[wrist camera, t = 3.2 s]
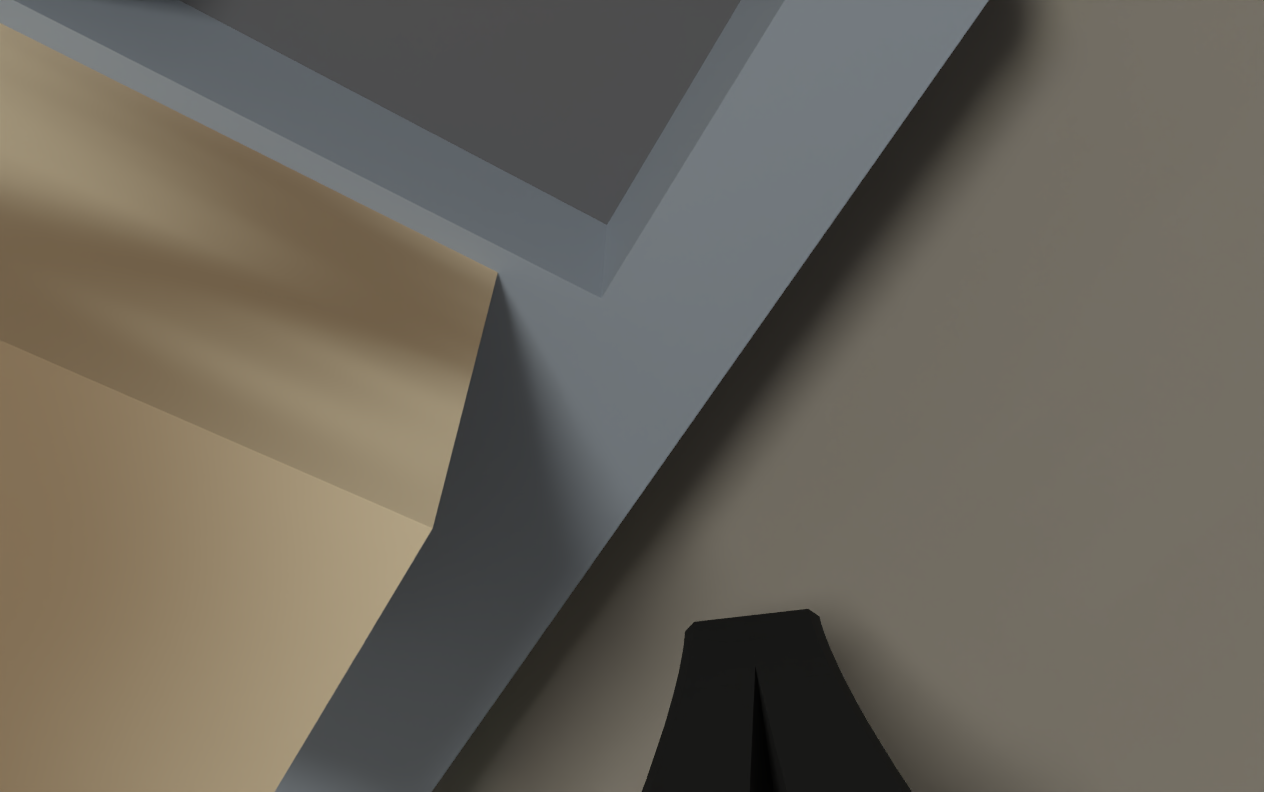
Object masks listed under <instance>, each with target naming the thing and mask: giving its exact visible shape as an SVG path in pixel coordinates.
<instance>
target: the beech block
mask: <svg viewBox="0 0 1264 792" xmlns="http://www.w3.org/2000/svg"><path fill="white" fill-rule="evenodd" d="M497 273H498V272H496V271H494V270H492V269H490V268H488V267H486V266H484V265H482V264H480V263H478V262H476V261H474V260H472V259H470V258H468V257H466V256H464V255H462V254H460V253H458V252H456V251H454V250H452V249H450V248H448V247H446V246H444V245H442V244H440V243H438V242H436V241H434V240H432V239H430V238H428V237H426V236H424V235H422V234H420V233H418V232H416V231H414V230H412V229H410V228H408V227H406V226H404V225H402V224H400V223H398V222H396V221H394V220H392V219H390V218H388V217H386V216H384V215H382V214H380V213H378V212H376V211H374V210H372V209H370V208H368V207H366V206H364V205H362V204H360V203H358V202H356V201H354V200H352V199H350V198H348V197H346V196H344V195H342V194H340V193H338V192H336V191H334V190H332V189H330V188H328V187H326V186H324V185H322V184H320V183H319V182H317V181H315V180H313V179H311V178H309V177H307V176H305V175H303V174H301V173H299V172H297V171H295V170H293V169H291V168H289V167H287V166H285V165H283V164H281V163H279V162H277V161H275V160H273V159H271V158H269V157H267V156H265V155H263V154H261V153H259V152H257V151H255V150H253V149H251V148H249V147H247V146H245V145H243V144H241V143H239V142H237V141H235V140H233V139H231V138H229V137H227V136H225V135H223V134H221V133H219V132H217V131H215V130H213V129H211V128H209V127H207V126H205V125H203V124H201V123H199V122H197V121H195V120H193V119H191V118H189V117H187V116H185V115H183V114H181V113H179V112H177V111H175V110H173V109H171V108H169V107H167V106H165V105H163V104H161V103H159V102H157V101H155V100H153V99H151V98H149V97H147V96H145V95H143V94H141V93H139V92H137V91H135V90H133V89H131V88H129V87H127V86H125V85H123V84H121V83H119V82H117V81H115V80H113V79H111V78H109V77H107V76H105V75H103V74H101V73H99V72H97V71H95V70H93V69H91V68H89V67H87V66H85V65H83V64H81V63H79V62H77V61H75V60H73V59H71V58H69V57H67V56H65V55H63V54H61V53H59V52H57V51H55V50H53V49H51V48H49V47H47V46H45V45H43V44H41V43H39V42H37V41H35V40H33V39H31V38H29V37H27V36H25V35H23V34H21V33H19V32H17V31H15V30H13V29H11V28H9V27H7V26H5V25H3V24H1V23H0V792H275V790H276V789H277V787H278V785H279V784H280V782H281V780H282V779H283V777H284V775H285V774H286V772H287V770H288V769H289V767H290V765H291V764H292V762H293V760H294V759H295V757H296V755H297V754H298V752H299V750H300V749H301V747H302V745H303V744H304V742H305V740H306V739H307V737H308V735H309V734H310V732H311V730H312V729H313V727H314V725H315V724H316V722H317V720H318V719H319V717H320V715H321V714H322V712H323V710H324V709H325V707H326V705H327V704H328V702H329V700H330V699H331V697H332V695H333V694H334V692H335V690H336V689H337V687H338V685H339V684H340V682H341V680H342V679H343V677H344V675H345V674H346V672H347V670H348V669H349V667H350V665H351V664H352V662H353V660H354V659H355V657H356V655H357V654H358V652H359V650H360V649H361V647H362V645H363V644H364V642H365V640H366V639H367V637H368V635H369V634H370V632H371V630H372V629H373V627H374V625H375V624H376V622H377V620H378V619H379V617H380V615H381V614H382V612H383V610H384V609H385V607H386V605H387V604H388V602H389V600H390V599H391V597H392V595H393V594H394V592H395V590H396V589H397V587H398V585H399V584H400V582H401V580H402V579H403V577H404V575H405V574H406V572H407V570H408V569H409V567H410V565H411V564H412V562H413V560H414V559H415V557H416V555H417V554H418V552H419V550H420V549H421V547H422V545H423V544H424V542H425V540H426V539H427V537H428V535H429V534H430V532H431V530H432V529H433V525H434V521H435V517H436V513H437V509H438V505H439V501H440V497H441V493H442V490H443V486H444V482H445V478H446V474H447V470H448V466H449V462H450V458H451V454H452V450H453V446H454V442H455V438H456V435H457V431H458V427H459V423H460V419H461V415H462V411H463V407H464V403H465V399H466V395H467V391H468V387H469V383H470V379H471V376H472V372H473V368H474V364H475V360H476V356H477V352H478V348H479V344H480V340H481V336H482V332H483V328H484V324H485V321H486V317H487V313H488V309H489V305H490V301H491V297H492V293H493V289H494V285H495V281H496V277H497Z"/></svg>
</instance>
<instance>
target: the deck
mask: <svg viewBox="0 0 1264 792" xmlns="http://www.w3.org/2000/svg"><path fill="white" fill-rule="evenodd" d="M988 1H989V0H0V23H1V24H3V25H5V26H7V27H9V28H11V29H13V30H15V31H17V32H19V33H21V34H23V35H25V36H27V37H29V38H31V39H33V40H35V41H37V42H39V43H41V44H43V45H45V46H47V47H49V48H51V49H53V50H55V51H57V52H59V53H61V54H63V55H65V56H67V57H69V58H71V59H73V60H75V61H77V62H79V63H81V64H83V65H85V66H87V67H89V68H91V69H93V70H95V71H97V72H99V73H101V74H103V75H105V76H107V77H109V78H111V79H113V80H115V81H117V82H119V83H121V84H123V85H125V86H127V87H129V88H131V89H133V90H135V91H137V92H139V93H141V94H143V95H145V96H147V97H149V98H151V99H153V100H155V101H157V102H159V103H161V104H163V105H165V106H167V107H169V108H171V109H173V110H175V111H177V112H179V113H181V114H183V115H185V116H187V117H189V118H191V119H193V120H195V121H197V122H199V123H201V124H203V125H205V126H207V127H209V128H211V129H213V130H215V131H217V132H219V133H221V134H223V135H225V136H227V137H229V138H231V139H233V140H235V141H237V142H239V143H241V144H243V145H245V146H247V147H249V148H251V149H253V150H255V151H257V152H259V153H261V154H263V155H265V156H267V157H269V158H271V159H273V160H275V161H277V162H279V163H281V164H283V165H285V166H287V167H289V168H291V169H293V170H295V171H297V172H299V173H301V174H303V175H305V176H307V177H309V178H311V179H313V180H315V181H317V182H319V183H320V184H322V185H324V186H326V187H328V188H330V189H332V190H334V191H336V192H338V193H340V194H342V195H344V196H346V197H348V198H350V199H352V200H354V201H356V202H358V203H360V204H362V205H364V206H366V207H368V208H370V209H372V210H374V211H376V212H378V213H380V214H382V215H384V216H386V217H388V218H390V219H392V220H394V221H396V222H398V223H400V224H402V225H404V226H406V227H408V228H410V229H412V230H414V231H416V232H418V233H420V234H422V235H424V236H426V237H428V238H430V239H432V240H434V241H436V242H438V243H440V244H442V245H444V246H446V247H448V248H450V249H452V250H454V251H456V252H458V253H460V254H462V255H464V256H466V257H468V258H470V259H472V260H474V261H476V262H478V263H480V264H482V265H484V266H486V267H488V268H490V269H492V270H494V271H496V272H498V273H497V277H496V281H495V285H494V289H493V293H492V297H491V301H490V305H489V309H488V313H487V317H486V321H485V324H484V328H483V332H482V336H481V340H480V344H479V348H478V352H477V356H476V360H475V364H474V368H473V372H472V376H471V379H470V383H469V387H468V391H467V395H466V399H465V403H464V407H463V411H462V415H461V419H460V423H459V427H458V431H457V435H456V438H455V442H454V446H453V450H452V454H451V458H450V462H449V466H448V470H447V474H446V478H445V482H444V486H443V490H442V493H441V497H440V501H439V505H438V509H437V513H436V517H435V521H434V525H433V529H432V530H431V532H430V534H429V535H428V537H427V539H426V540H425V542H424V544H423V545H422V547H421V549H420V550H419V552H418V554H417V555H416V557H415V559H414V560H413V562H412V564H411V565H410V567H409V569H408V570H407V572H406V574H405V575H404V577H403V579H402V580H401V582H400V584H399V585H398V587H397V589H396V590H395V592H394V594H393V595H392V597H391V599H390V600H389V602H388V604H387V605H386V607H385V609H384V610H383V612H382V614H381V615H380V617H379V619H378V620H377V622H376V624H375V625H374V627H373V629H372V630H371V632H370V634H369V635H368V637H367V639H366V640H365V642H364V644H363V645H362V647H361V649H360V650H359V652H358V654H357V655H356V657H355V659H354V660H353V662H352V664H351V665H350V667H349V669H348V670H347V672H346V674H345V675H344V677H343V679H342V680H341V682H340V684H339V685H338V687H337V689H336V690H335V692H334V694H333V695H332V697H331V699H330V700H329V702H328V704H327V705H326V707H325V709H324V710H323V712H322V714H321V715H320V717H319V719H318V720H317V722H316V724H315V725H314V727H313V729H312V730H311V732H310V734H309V735H308V737H307V739H306V740H305V742H304V744H303V745H302V747H301V749H300V750H299V752H298V754H297V755H296V757H295V759H294V760H293V762H292V764H291V765H290V767H289V769H288V770H287V772H286V774H285V775H284V777H283V779H282V780H281V782H280V784H279V785H278V787H277V789H276V790H275V792H432V790H433V789H434V788H435V786H436V785H437V783H438V782H439V781H440V779H441V778H442V776H443V775H444V773H445V772H446V771H447V769H448V768H449V766H450V765H451V763H452V762H453V761H454V759H455V758H456V756H457V755H458V754H459V752H460V751H461V749H462V748H463V746H464V745H465V744H466V742H467V741H468V739H469V738H470V736H471V735H472V734H473V732H474V731H475V729H476V728H477V727H478V725H479V724H480V722H481V721H482V719H483V718H484V717H485V715H486V714H487V712H488V711H489V709H490V708H491V707H492V705H493V704H494V702H495V701H496V700H497V698H498V697H499V695H500V694H501V692H502V691H503V690H504V688H505V687H506V685H507V684H508V682H509V681H510V680H511V678H512V677H513V675H514V674H515V673H516V671H517V670H518V668H519V667H520V665H521V664H522V663H523V661H524V660H525V658H526V657H527V655H528V654H529V653H530V651H531V650H532V648H533V647H534V646H535V644H536V643H537V641H538V640H539V638H540V637H541V636H542V634H543V633H544V631H545V630H546V628H547V627H548V626H549V624H550V623H551V621H552V620H553V619H554V617H555V616H556V614H557V613H558V611H559V610H560V609H561V607H562V606H563V604H564V603H565V602H566V600H567V599H568V597H569V596H570V594H571V593H572V592H573V590H574V589H575V587H576V586H577V584H578V583H579V582H580V580H581V579H582V577H583V576H584V575H585V573H586V572H587V570H588V569H589V567H590V566H591V565H592V563H593V562H594V560H595V559H596V557H597V556H598V555H599V553H600V552H601V550H602V549H603V548H604V546H605V545H606V543H607V542H608V540H609V539H610V538H611V536H612V535H613V533H614V532H615V530H616V529H617V528H618V526H619V525H620V523H621V522H622V521H623V519H624V518H625V516H626V515H627V513H628V512H629V511H630V509H631V508H632V506H633V505H634V503H635V502H636V501H637V499H638V498H639V496H640V495H641V494H642V492H643V491H644V489H645V488H646V486H647V485H648V484H649V482H650V481H651V479H652V478H653V476H654V475H655V474H656V472H657V471H658V469H659V468H660V467H661V465H662V464H663V462H664V461H665V459H666V458H667V457H668V455H669V454H670V452H671V451H672V450H673V448H674V447H675V445H676V444H677V442H678V441H679V440H680V438H681V437H682V435H683V434H684V432H685V431H686V430H687V428H688V427H689V425H690V424H691V423H692V421H693V420H694V418H695V417H696V415H697V414H698V413H699V411H700V410H701V408H702V407H703V405H704V404H705V403H706V401H707V400H708V398H709V397H710V396H711V394H712V393H713V391H714V390H715V388H716V387H717V386H718V384H719V383H720V381H721V380H722V378H723V377H724V376H725V374H726V373H727V371H728V370H729V369H730V367H731V366H732V364H733V363H734V361H735V360H736V359H737V357H738V356H739V354H740V353H741V351H742V350H743V349H744V347H745V346H746V344H747V343H748V342H749V340H750V339H751V337H752V336H753V334H754V333H755V332H756V330H757V329H758V327H759V326H760V324H761V323H762V322H763V320H764V319H765V317H766V316H767V315H768V313H769V312H770V310H771V309H772V307H773V306H774V305H775V303H776V302H777V300H778V299H779V297H780V296H781V295H782V293H783V292H784V290H785V289H786V288H787V286H788V285H789V283H790V282H791V280H792V279H793V278H794V276H795V275H796V273H797V272H798V271H799V269H800V268H801V266H802V265H803V263H804V262H805V261H806V259H807V258H808V256H809V255H810V253H811V252H812V251H813V249H814V248H815V246H816V245H817V244H818V242H819V241H820V239H821V238H822V236H823V235H824V234H825V232H826V231H827V229H828V228H829V226H830V225H831V224H832V222H833V221H834V219H835V218H836V217H837V215H838V214H839V212H840V211H841V209H842V208H843V207H844V205H845V204H846V202H847V201H848V199H849V198H850V197H851V195H852V194H853V192H854V191H855V190H856V188H857V187H858V185H859V184H860V182H861V181H862V180H863V178H864V177H865V175H866V174H867V172H868V171H869V170H870V168H871V167H872V165H873V164H874V163H875V161H876V160H877V158H878V157H879V155H880V154H881V153H882V151H883V150H884V148H885V147H886V145H887V144H888V143H889V141H890V140H891V138H892V137H893V136H894V134H895V133H896V131H897V130H898V128H899V127H900V126H901V124H902V123H903V121H904V120H905V118H906V117H907V116H908V114H909V113H910V111H911V110H912V109H913V107H914V106H915V104H916V103H917V101H918V100H919V99H920V97H921V96H922V94H923V93H924V92H925V90H926V89H927V87H928V86H929V84H930V83H931V82H932V80H933V79H934V77H935V76H936V74H937V73H938V72H939V70H940V69H941V67H942V66H943V65H944V63H945V62H946V60H947V59H948V57H949V56H950V55H951V53H952V52H953V50H954V49H955V47H956V46H957V45H958V43H959V42H960V40H961V39H962V38H963V36H964V35H965V33H966V32H967V30H968V29H969V28H970V26H971V25H972V23H973V22H974V20H975V19H976V18H977V16H978V15H979V13H980V12H981V11H982V9H983V8H984V6H985V5H986V3H987V2H988Z"/></svg>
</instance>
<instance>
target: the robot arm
mask: <svg viewBox="0 0 1264 792" xmlns="http://www.w3.org/2000/svg"><path fill="white" fill-rule="evenodd" d="M642 792H912V791H911V790H910V788H909V787H908V785H907V784H906V782H905V781H904V779H903V778H902V776H901V775H900V773H899V772H898V770H897V769H896V767H895V766H894V764H893V762H892V761H891V759H890V758H889V756H888V754H887V753H886V751H885V749H884V748H883V746H882V745H881V743H880V741H879V740H878V738H877V736H876V735H875V733H874V732H873V730H872V728H871V727H870V725H869V723H868V722H867V720H866V718H865V716H864V715H863V713H862V711H861V709H860V708H859V706H858V704H857V702H856V700H855V698H854V696H853V695H852V693H851V691H850V689H849V687H848V685H847V683H846V681H845V679H844V677H843V675H842V673H841V671H840V669H839V667H838V665H837V663H836V661H835V658H834V656H833V654H832V651H831V649H830V647H829V644H828V642H827V639H826V636H825V634H824V631H823V628H822V625H821V621H820V617H819V616H818V615H816V614H815V613H813V612H812V611H810V610H809V609H804V610H795V611H786V612H777V613H768V614H760V615H751V616H742V617H733V618H724V619H716V620H707V621H698V622H694V623H693V624H692V625H691V626H690V627H689V628H688V629H687V630H686V631H685V639H684V648H683V654H682V659H681V664H680V669H679V674H678V678H677V682H676V686H675V690H674V694H673V698H672V701H671V705H670V708H669V712H668V716H667V719H666V723H665V726H664V729H663V732H662V735H661V738H660V741H659V744H658V747H657V750H656V753H655V756H654V758H653V761H652V764H651V767H650V770H649V773H648V776H647V779H646V782H645V784H644V787H643V790H642Z"/></svg>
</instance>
